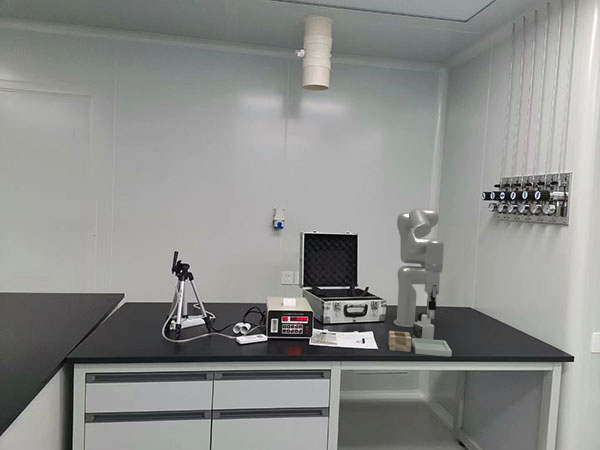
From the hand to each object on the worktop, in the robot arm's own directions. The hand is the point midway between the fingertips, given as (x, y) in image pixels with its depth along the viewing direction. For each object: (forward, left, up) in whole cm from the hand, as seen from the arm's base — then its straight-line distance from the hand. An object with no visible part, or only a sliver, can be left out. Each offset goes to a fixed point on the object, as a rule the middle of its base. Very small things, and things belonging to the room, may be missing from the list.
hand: (431, 308), depth 202 cm
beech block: (+1, -13, -19) cm, 23 cm away
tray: (0, +1, -19) cm, 19 cm away
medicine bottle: (-17, 0, -19) cm, 25 cm away
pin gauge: (0, 0, -4) cm, 4 cm away
